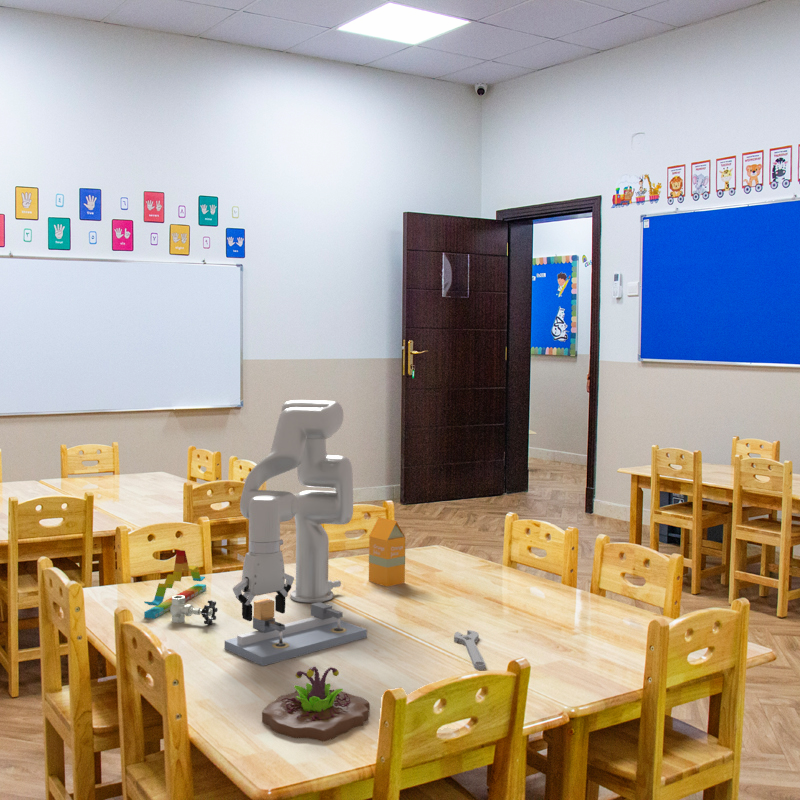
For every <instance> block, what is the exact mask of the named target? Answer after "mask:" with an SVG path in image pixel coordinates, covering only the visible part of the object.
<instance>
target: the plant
mask: <svg viewBox="0 0 800 800" xmlns="http://www.w3.org/2000/svg"><path fill="white" fill-rule="evenodd" d="M331 671H332V675H333V677H338V676H339V673H340V672H339V670H338V669H337V668H335V667H331V666H330V667H328V668H327V669H326V670H325V671H324V673H323V674H322V675H321V678H320V672H319V670H318V668H317V667H316V666H312V667H310V668H308V670H307V671H301V670H298V671H296V673H295V678H296V679H301V678H302V677H303V676H304V677H306V678H307V680H308V681H309V682H310V683H309V682H307V683H306V684H305V687H303V686H301V685H296V684H295V685H294V689H295V691H293V692H291V693H287V694H284V695H280V696H278V697H277V698H276V699H274V701H272V702H270V703H268V705H267V706H266V707H265V708H264V709H263V710H262V713H261V720H262V721H261V722H262V723H263V724H265V725H266V726H268V727H269V728H270V730H272V731H273V732H275V733H277V734H280V735H284V736H287V737H290V738H293V739H310V740H316V741H320V742H327V741H330V740H333V739H335V738H336V737H338V736H341V735H343V734H346V733H348V732H350V730H351V731H352V730H353V728H356V727H361V726H364V723H365V722H366V721H368V720H369V716H370V715H369V713H370V706H371V705H370V702H369V701H368V700H367V699H366V698H364V697H362V696H357V695H354V694H350V693H347V692H344V691H343V688H337V689H331V687H332V686H331V685H332V684H331V683H326V680H327V676H328V674H329V672H331ZM313 677H314V678H313Z"/></svg>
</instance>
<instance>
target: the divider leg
mask: <svg viewBox="0 0 800 800" xmlns="http://www.w3.org/2000/svg"><path fill="white" fill-rule="evenodd" d="M284 624H285V623H281V622H278V621H276V618H275V600H272V599H269V598H264V599H260V600H254V601H253V615H252V629H254V630H255V631H261V632H263V633H267V632H271V631H275V630H277V631H279V643H282V640H283V630H285V625H284Z"/></svg>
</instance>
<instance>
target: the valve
mask: <svg viewBox="0 0 800 800" xmlns="http://www.w3.org/2000/svg"><path fill="white" fill-rule="evenodd" d="M176 595H177V594H176ZM171 598H172V605H171V608H170V610H169V612H170V614H171V623H173V624H180V623H185V622H186V621H185V620H186V619H185V618H186V617H191V616H192V615H196V616H200V615H201V616H202V618H204V620H203V625H208V626H212V625H213V621H216V620H217V616H216V613H217V612H218V610H219V609H218V607H216V606H217V601H213V600H212V599H208V600H207V604H204V606H203V608H201V607H194V606H193V605H192V604H186V601H185V596H182V595H177V596H175V595H173V596H172V597H171Z"/></svg>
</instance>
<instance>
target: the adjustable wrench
mask: <svg viewBox="0 0 800 800" xmlns="http://www.w3.org/2000/svg"><path fill="white" fill-rule="evenodd" d="M466 633H467V634H464V635H463V633H461V632H459V631H456V632H454V637H453V642H454V643H460V644H461V645H464V646H465V649H466V651H467V653H468V655H469V657H470V661H471V663H472V666H473V668H474V669H475V670H480V671H481V670H485V669H486V661H485V659H484V658H483V656H482V654H481V652H480V650H479V648H478V645H476V643H477V641H479V638H480V637H479V632H477V631H475V630H467V632H466Z"/></svg>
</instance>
